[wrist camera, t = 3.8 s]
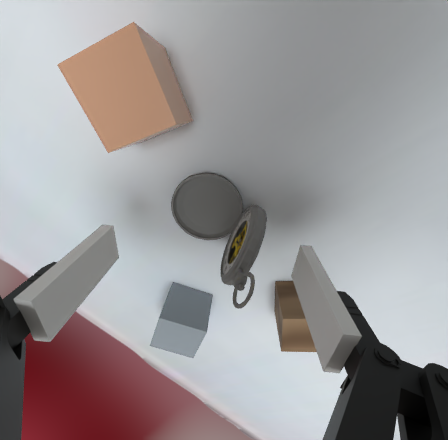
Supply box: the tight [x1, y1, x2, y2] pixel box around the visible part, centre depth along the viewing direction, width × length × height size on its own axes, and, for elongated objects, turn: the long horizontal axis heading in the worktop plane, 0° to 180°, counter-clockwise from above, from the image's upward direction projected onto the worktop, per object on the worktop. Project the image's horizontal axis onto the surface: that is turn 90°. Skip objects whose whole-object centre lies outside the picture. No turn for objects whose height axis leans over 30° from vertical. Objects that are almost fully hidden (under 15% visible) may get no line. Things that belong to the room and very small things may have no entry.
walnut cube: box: [275, 281, 317, 352], centre depth 23 cm, size 5×5×5 cm
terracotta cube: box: [58, 22, 193, 153], centre depth 14 cm, size 5×5×5 cm
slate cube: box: [150, 282, 212, 358], centre depth 25 cm, size 5×5×5 cm
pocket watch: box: [171, 173, 267, 308], centre depth 16 cm, size 8×8×10 cm
